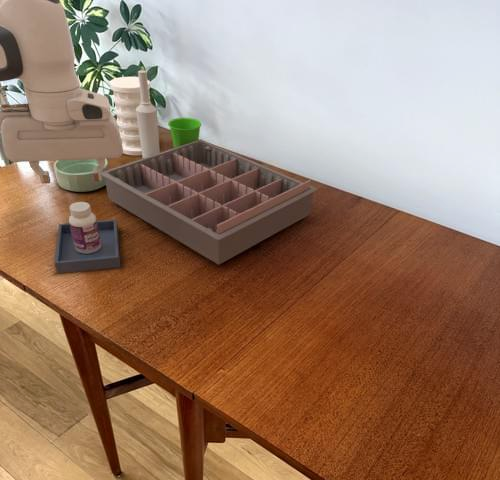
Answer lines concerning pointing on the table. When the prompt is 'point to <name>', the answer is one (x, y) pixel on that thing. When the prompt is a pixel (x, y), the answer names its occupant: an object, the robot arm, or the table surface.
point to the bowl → (78, 174)
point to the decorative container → (128, 112)
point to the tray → (101, 259)
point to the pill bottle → (84, 228)
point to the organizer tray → (209, 198)
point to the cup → (184, 130)
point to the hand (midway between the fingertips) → (72, 181)
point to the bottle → (147, 120)
